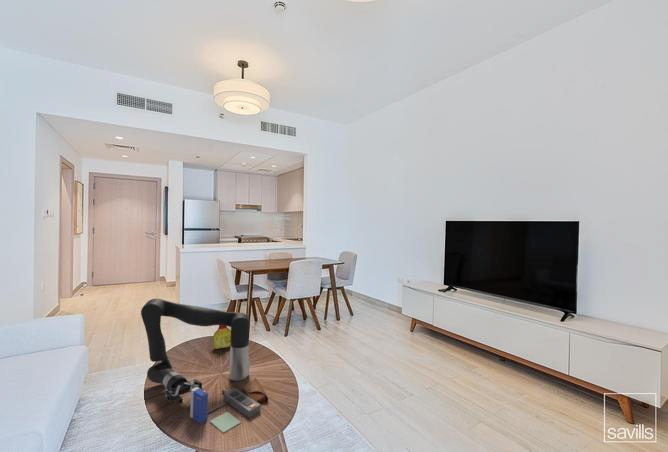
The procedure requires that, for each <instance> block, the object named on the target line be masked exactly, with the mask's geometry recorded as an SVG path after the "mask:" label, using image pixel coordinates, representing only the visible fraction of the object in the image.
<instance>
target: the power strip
mask: <svg viewBox="0 0 668 452" xmlns="http://www.w3.org/2000/svg"><path fill="white" fill-rule="evenodd" d="M221 392H222V393H223V401H224V400H225V401H224V403H221V404H219V405H218V406H216V407H214V408H212V409H210V410H207V415H209V414H211V413H213V412H215V411H217V410H219V409H221V408H223V407H225V406H227V405H228V403H229V405H230V406H231V405H232V407H233V408H234V409H236V410H237V411H238V412H240V413H241V414H242V415H244V416H245V417H247V418H248V419H250V418H252V417H253V416H255V415H257V414H258V413H259V412H261V404H259V403H257V402H256V401H254V400H253V399H251V398H250V397H248V396H247V395H246V394H245V393H244V392H242V391H240V390H239V389H237V388H232V389H231V390H228V391H226V390H224V389H221ZM226 404H227V405H226ZM224 405H225V406H224ZM222 406H223V407H222Z"/></svg>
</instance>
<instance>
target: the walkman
mask: <svg viewBox="0 0 668 452" xmlns="http://www.w3.org/2000/svg"><path fill="white" fill-rule="evenodd" d="M202 389H203V388H202ZM202 389H200V388H198V387H194V388H193V389H191V388H190V390H191V392H190V407H189V409H190V412H189V417H190V418H192V419H193V420H194V421H196V422H197V423H199V424H201V425H202V424H203V423H205V422H206V421H208V414H207V412H208V397H209V393H208V392H207V391H206V390H204V389H203V390H202Z"/></svg>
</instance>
